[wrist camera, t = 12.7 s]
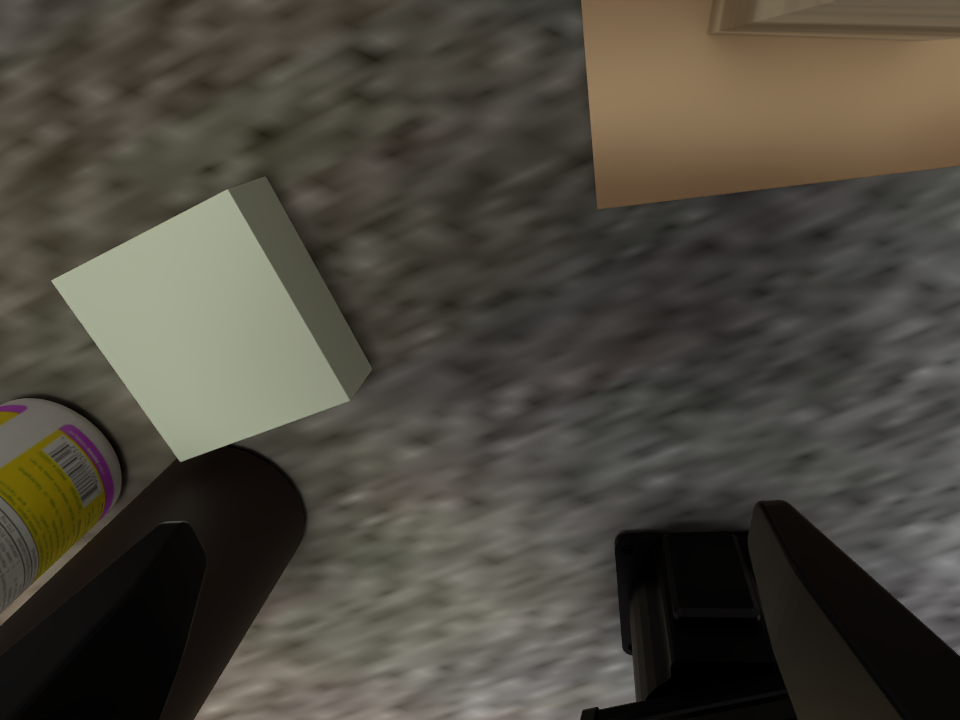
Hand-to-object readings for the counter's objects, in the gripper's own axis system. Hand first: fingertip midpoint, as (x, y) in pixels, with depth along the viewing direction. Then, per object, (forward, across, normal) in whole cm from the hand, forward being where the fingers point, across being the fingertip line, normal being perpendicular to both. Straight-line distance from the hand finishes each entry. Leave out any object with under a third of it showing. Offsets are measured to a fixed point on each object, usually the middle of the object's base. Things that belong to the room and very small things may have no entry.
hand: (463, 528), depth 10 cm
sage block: (+14, +10, +4) cm, 18 cm away
